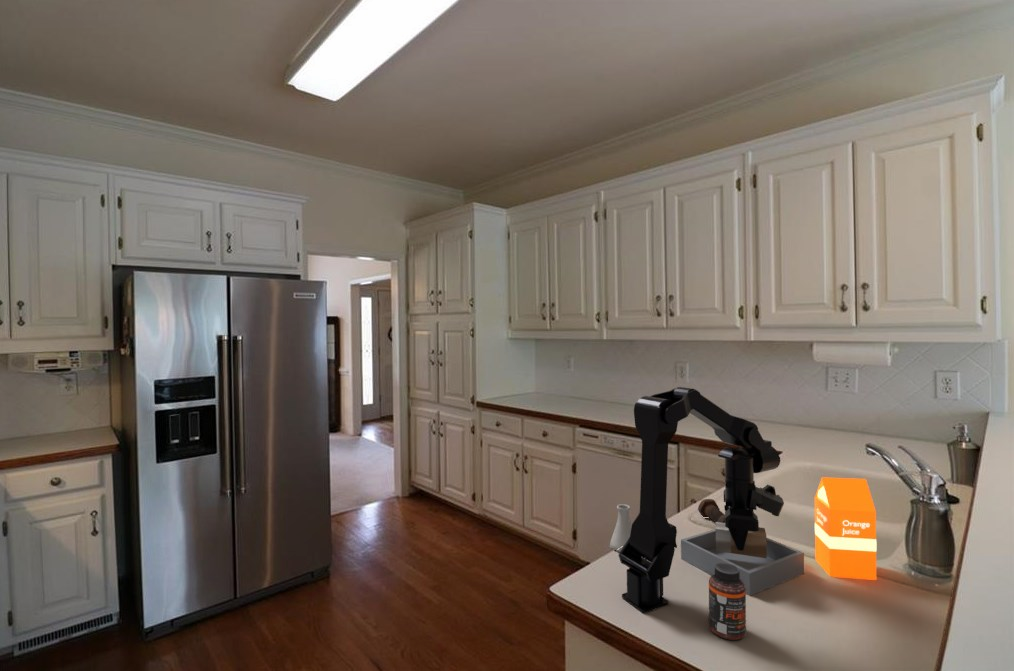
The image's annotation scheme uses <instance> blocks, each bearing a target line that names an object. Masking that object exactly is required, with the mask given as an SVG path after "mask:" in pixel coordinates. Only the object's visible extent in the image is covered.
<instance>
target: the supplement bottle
mask: <svg viewBox="0 0 1014 671" xmlns="http://www.w3.org/2000/svg"><path fill="white" fill-rule="evenodd" d="M746 595H747V594H746V588H745V584H744V583H743V581H742V580H741V579H740V572H739V569H738V568H737V567H736V566H734V565H732V564H728V563H718V564H716V565H715V574H714V575H710V577H709V580H708V626H709V629H710V631H712V633H714V634H715V635H716V636H718V637H719V638H722V639H725V640H729V641H739V640H741V639H743V638H745V636H746V630H747V627H746V626H747V625H746V624H747V615H746V614H747V612H746V611H747V610H746V608H747V605H746V604H747V602H746V601H747V599H746V598H747V597H746Z"/></svg>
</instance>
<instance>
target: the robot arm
mask: <svg viewBox="0 0 1014 671" xmlns="http://www.w3.org/2000/svg"><path fill="white" fill-rule="evenodd" d="M633 407H634V408H633V416H634V417H633V419H634V426H635V429H636V431H637V434H638V435H639V437H640V439H641V460H640V461H641V464H640V465H641V466H640V467H641V468H640V490H639V492H640V493H639V494H640V495H639V499H640V500H639V512H638V515H637V516H636V517H635V519H634V521H633V522H631V525H632V527H631V533H630V537H629V539H628V540H627V542H626V544H625V545H624V547H623V548H622V550H621V551H620V552H618V558H619V561H620V564H622V565H625V566H626V567H628V568H627V569H626V592H624V593H621V598H622V599H623V600H625V601H627V602H628V603H630V605H632V606H633V607H634V608H635V609H637V610H638V611H640V612H642V613H645V614H646V613H648V612H650V611H653V610H656V609H659V608H661V607H664V606H667V605H669V600H667V599H666V598H665V597H664V578H667V577H670V576H669V575H670V572H671V567H672V563H673V558H674V556H675V550H676V549H677V548H678V545H677V535H678V534H677V533H678V530H677V526H676V525H674V524H671V523H669V521H668V518H667V515H666V514H667V513H666V512H667V490H668V489H667V486H668V484H667V483H668V457H669V443H670V442H671V441H672V439H673V437H675V436H674V435H675V434H676V432H677V431H678V425H679V422H680V421H682V420H684V419H686V418H687V417H689V415H692V416H694V417H695V418H696V419H699V421H701V422H703V423H704V424H706V425H708V426H710V427H711V428H712V429H713V432H714V434H715V436H716V437H717V438H718V439H719V440H720V441H721V442H722V443H724V444H728V445H731V446H736V447H730V446H724V448H723V449H722V450H720V451H719V452H718V454H717V456H718V458H723V459H724V484H725V485H724V486H725V487H724V488H725V489H724V490H723V502H724V503H725V505H724V514H725V527H727V528H728V529H729V531H730V533H731V535H732V538H733V540H734V542H735V545H736V547H737V549H738V550H740V551H743V550H744V546H745V542H746V538H747V534H748V531H755V532H756V531H759V526H760V525H759V523H760V522H759V518H758V515H757V514H756V513H755V511H757V508H759V509H761V510H763V511H765V512H766V513H767V512H768V513H770V514H771V515H772V516H775V517H779V516H780V513H781V512H782V509H783V507H784V503H785V502H784V499H783V497H782V496H780V495H779V494H777V493H776V488H775V486H772V485H770V484H766V485H765V486H764V487H758V486H756V482H755V480H754V477H755V476H754V474H759V473H763V472H768V471H771V470H775V469H777V468H778V467H779V466H780V464H781V457H780V455H779V453H778V450H776V448H775V447H773V445H772V441H771V440H768V439H763V437H762V435H761V433H760V431H759V428H758V425H757V424H756V423H755V422H752V421H750V420H748V419H744V418H741V417H737V416H735V415H732V414H730V413H729V412H728V411H726V410H724V409H723V408H722V407H720V406H718V405H717V404H716V403H715V402H713V401H711V400H709V398H707V397H705V396H704V395H702V394H701V392H700V391H699V390H697V389H695V388H690V387H684V386H683V387H682V386H678V387H675V388H672V389H671V390H667V391H663V392H658V393H655V394H652V395H650V396H649V395H645V396H642V397H640V398H639V399H638V400H637V401H636V402H635V403H634V406H633ZM739 447H740V448H739Z"/></svg>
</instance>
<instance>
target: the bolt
mask: <svg viewBox="0 0 1014 671" xmlns="http://www.w3.org/2000/svg"><path fill="white" fill-rule="evenodd" d="M697 511H698V512H699V514H700V516H701V515H702V516H703V517H709V518H708V519H711V520H712V521H713V522H714V523H716V522H720V523H725V513H724V512H723V511H722V510H720V507H719V505H718V504H717V501H715V500H714V499H712V498H706V499H705V498H704V499H702V500H701V501H700V502H699V504H698V507H697ZM702 516H701V517H702ZM703 517H702V518H703Z"/></svg>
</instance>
